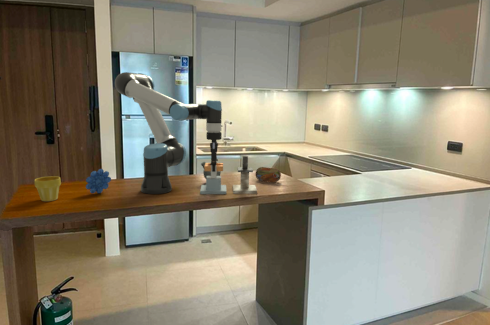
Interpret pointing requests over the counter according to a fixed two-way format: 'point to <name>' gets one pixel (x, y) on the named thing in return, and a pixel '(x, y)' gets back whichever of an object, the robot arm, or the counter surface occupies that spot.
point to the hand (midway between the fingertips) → (213, 175)
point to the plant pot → (48, 187)
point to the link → (208, 167)
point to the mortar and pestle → (208, 173)
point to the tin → (268, 174)
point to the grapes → (98, 181)
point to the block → (213, 186)
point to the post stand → (244, 179)
